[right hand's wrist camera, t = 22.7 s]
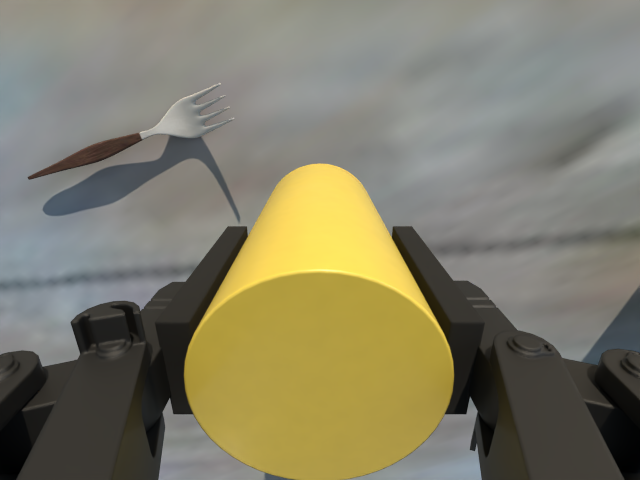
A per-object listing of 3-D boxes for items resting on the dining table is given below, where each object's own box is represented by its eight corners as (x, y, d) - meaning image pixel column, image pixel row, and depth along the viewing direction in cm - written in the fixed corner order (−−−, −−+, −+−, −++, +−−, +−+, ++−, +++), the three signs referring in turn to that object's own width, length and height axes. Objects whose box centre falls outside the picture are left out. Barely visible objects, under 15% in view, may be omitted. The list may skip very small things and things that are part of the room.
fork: (22, 159, 25) (-2, 163, 23) (226, 82, 23) (218, 79, 21) (44, 193, 26) (22, 200, 24) (242, 121, 24) (235, 122, 22)
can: (367, 156, 18) (457, 252, 6) (375, 257, 20) (454, 471, 8) (258, 171, 18) (146, 288, 6) (277, 268, 20) (218, 492, 9)
